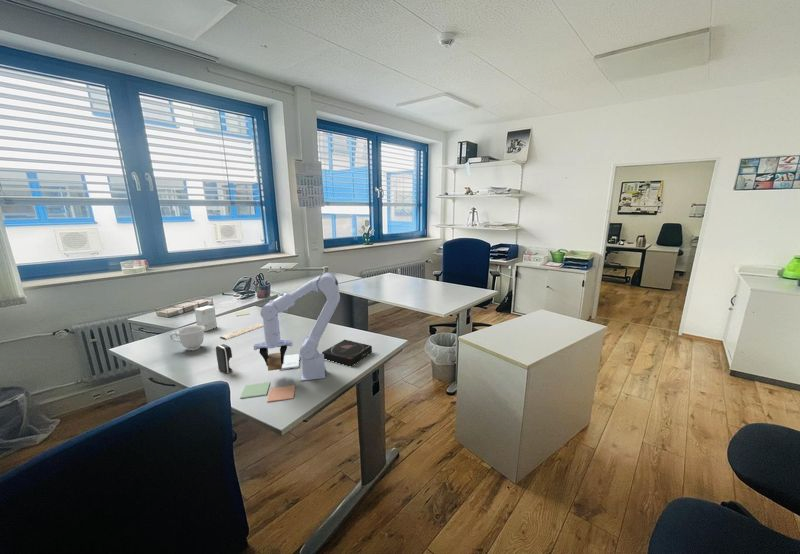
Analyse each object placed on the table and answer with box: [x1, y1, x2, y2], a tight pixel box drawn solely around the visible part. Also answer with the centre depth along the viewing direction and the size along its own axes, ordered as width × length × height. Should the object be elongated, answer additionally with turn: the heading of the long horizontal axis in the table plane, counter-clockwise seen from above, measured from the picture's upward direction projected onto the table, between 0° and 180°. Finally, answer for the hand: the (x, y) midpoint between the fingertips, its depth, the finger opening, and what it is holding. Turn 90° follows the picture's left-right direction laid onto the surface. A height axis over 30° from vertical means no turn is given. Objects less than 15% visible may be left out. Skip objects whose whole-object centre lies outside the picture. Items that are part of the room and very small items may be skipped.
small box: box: [194, 305, 218, 333], centre depth 187 cm, size 8×6×13 cm
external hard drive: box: [278, 353, 301, 371], centre depth 145 cm, size 2×8×12 cm
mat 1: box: [240, 381, 271, 399], centre depth 123 cm, size 9×9×1 cm
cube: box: [267, 352, 283, 372], centre depth 131 cm, size 5×5×5 cm
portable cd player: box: [321, 339, 373, 368], centre depth 152 cm, size 16×17×4 cm
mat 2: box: [266, 384, 296, 403], centre depth 121 cm, size 9×9×1 cm
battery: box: [215, 343, 233, 374], centre depth 138 cm, size 7×4×11 cm, turn 55°
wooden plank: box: [220, 323, 264, 340], centre depth 184 cm, size 24×7×2 cm, turn 150°
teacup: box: [169, 325, 205, 351], centre depth 160 cm, size 12×15×10 cm
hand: (275, 363), depth 131 cm, fingers closed on cube, 5 cm apart
